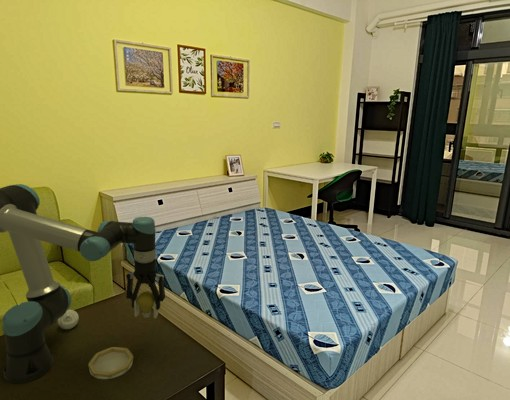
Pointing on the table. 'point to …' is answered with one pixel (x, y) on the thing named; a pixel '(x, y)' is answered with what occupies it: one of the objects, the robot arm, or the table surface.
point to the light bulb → (146, 303)
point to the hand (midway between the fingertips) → (146, 315)
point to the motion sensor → (68, 319)
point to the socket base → (110, 363)
